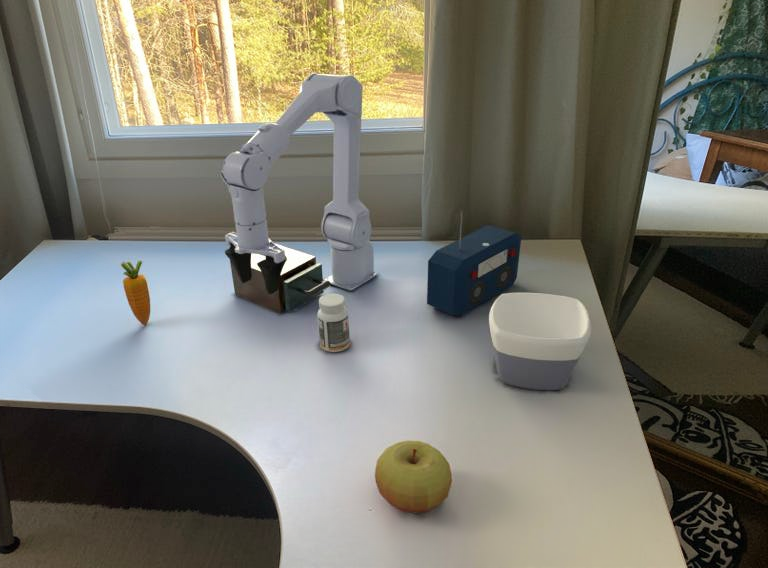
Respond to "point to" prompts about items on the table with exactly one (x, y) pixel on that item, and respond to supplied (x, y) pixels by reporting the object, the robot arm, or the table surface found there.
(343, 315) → the pill bottle
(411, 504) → the apple
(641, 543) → the table surface
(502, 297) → the bowl
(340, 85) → the robot arm
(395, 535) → the table surface
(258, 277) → the cabinet
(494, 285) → the radio
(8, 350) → the table surface
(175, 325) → the table surface
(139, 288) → the carrot
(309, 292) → the drawer
